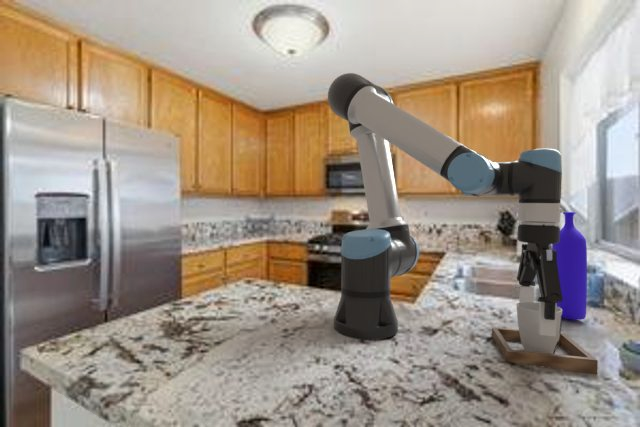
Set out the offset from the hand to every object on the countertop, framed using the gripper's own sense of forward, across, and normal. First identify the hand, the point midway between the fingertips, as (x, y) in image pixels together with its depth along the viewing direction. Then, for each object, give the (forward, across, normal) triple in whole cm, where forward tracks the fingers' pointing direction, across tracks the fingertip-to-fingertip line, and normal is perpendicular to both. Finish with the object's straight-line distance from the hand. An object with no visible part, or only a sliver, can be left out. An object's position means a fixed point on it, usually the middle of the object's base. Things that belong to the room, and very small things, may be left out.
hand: (535, 324), depth 74 cm
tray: (+6, 0, 0) cm, 6 cm away
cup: (+6, -1, 0) cm, 6 cm away
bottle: (+6, +33, -18) cm, 38 cm away
